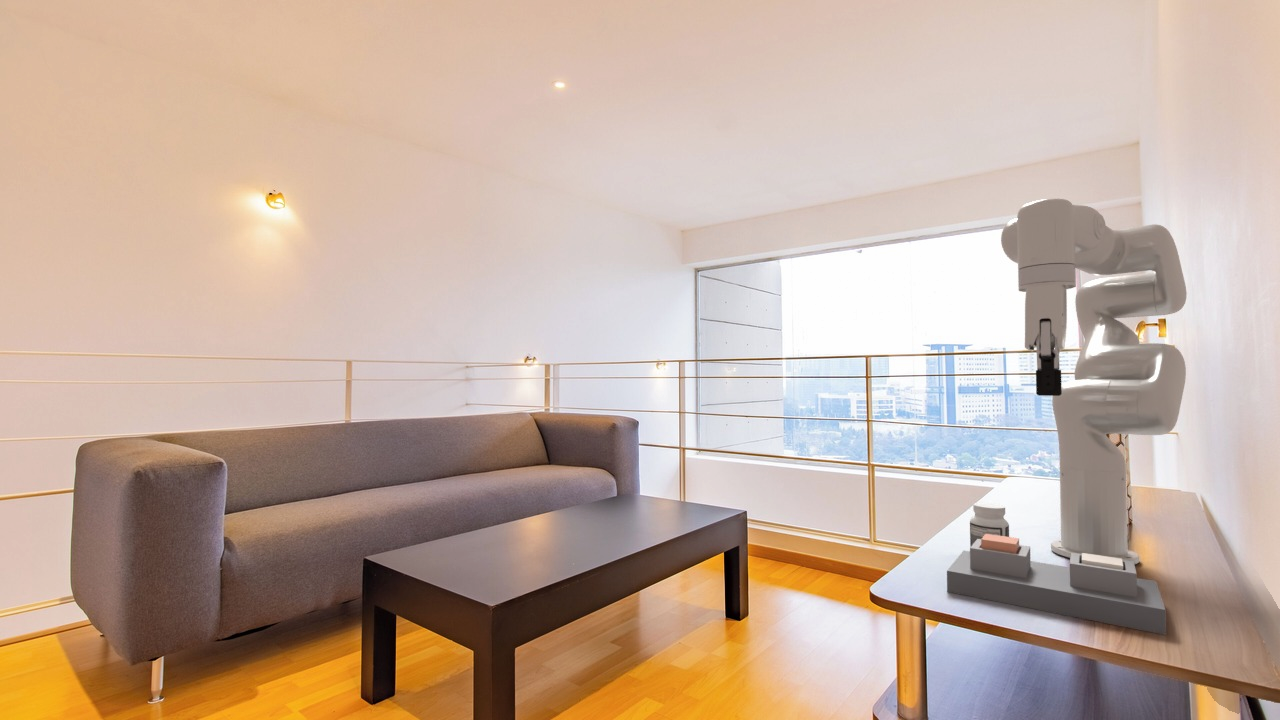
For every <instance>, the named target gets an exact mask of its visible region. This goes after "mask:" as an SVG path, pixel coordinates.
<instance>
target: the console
mask: <svg viewBox="0 0 1280 720" xmlns="http://www.w3.org/2000/svg"><path fill="white" fill-rule="evenodd" d="M1122 562H1123V570H1120V569H1114V568H1107V567H1101V566H1094V565H1088V564H1082V554H1079V553H1072V552H1071V557H1070V558H1069V566H1064V565H1060V564H1059V565H1057V564H1050V563H1045V562H1038V561H1031V546H1029V545H1023V544H1019V554H1016V553H1010V552H1003V551H997V550H990V549H984V548H981V539H977V540H976V541H975V542H974V544H973V545H972V546H971V547H969V550H962V552H961V553H960V554H959V555H958V556H957V558H956V559H955V560H954V561H953V563H952V564H951V565H950V567H948V569H947V570H946V592H947V593H948V592H949V593H954V594H959V595H963V596H967V597H972V598H973V597H974V598H978V599H981V600H982V599H983V600H989V601H992V602H993V601H994V602H999V603H1004V604H1008V605H1014V606H1019V607H1023V608H1028V609H1034V610H1037V611H1039V610H1040V611H1042V612H1043V611H1044V612H1048V613H1054V614H1058V615H1063V616H1068V617H1074V618H1078V619H1083V620H1090V621H1094V622H1099V623H1103V624H1104V623H1105V624H1109V625H1115V626H1120V627H1124V628H1129V629H1134V630H1139V631H1144V632H1149V633H1154V634H1160V635H1164V636H1166V635H1167V615H1166V612H1167V611H1166V607H1165V603H1164V601H1163V598H1162V594H1161V592H1160V590H1159V587H1158V582H1157V580H1153V579H1146V578H1141V577H1140V578H1139V577H1137V576H1138V575H1137V570H1136V566H1135V565H1136V564H1134V562H1133V561H1127V560H1122Z"/></svg>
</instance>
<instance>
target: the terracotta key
mask: <svg viewBox="0 0 1280 720" xmlns="http://www.w3.org/2000/svg"><path fill="white" fill-rule="evenodd" d="M1019 545H1020V538H1019V537H1013V536H1009V537H1006V536H999V535H992V534H985V535H984V536H983V538H982V539H981V548H984V549H990V550H997V551H1003V552H1010V553H1016V554H1019Z"/></svg>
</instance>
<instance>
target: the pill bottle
mask: <svg viewBox="0 0 1280 720" xmlns="http://www.w3.org/2000/svg"><path fill="white" fill-rule="evenodd" d="M972 511H973V512H974V515H973V516H972V517H971V518H970V519H969V540H970V543H969V544H970V547H971V546H972V545H973V544H974V542H975V541H976V540H977V539H982V538H983V536H984V535H985V534H992V535H999V536H1006V537H1010V525H1009V524H1010V523H1009V521H1008V520H1006V519H1005V517H1004V516H1005V515H1006V507H1005V506H1004V505H1001V504H998V503H990V502H975V503H973V510H972ZM970 547H969V548H970Z"/></svg>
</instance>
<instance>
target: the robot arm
mask: <svg viewBox="0 0 1280 720" xmlns="http://www.w3.org/2000/svg"><path fill="white" fill-rule="evenodd" d="M1016 216H1017V217H1015V218H1014V219H1011V220H1010V221H1008V222H1007V223H1006V225H1005V226H1004V227H1003V229H1002V230H1001V237H1000V241H1001V242H1000V243H1001V248H1002V249H1003V252H1004V254H1005V255H1006V257H1007V258H1009V259H1010V260H1011V261H1012V262H1013V263H1016V264H1017V269H1018V270H1017V273H1018V275H1017V279H1018V280H1017V281H1018V284H1017V285H1018V291H1019V292H1023V293H1025V300H1024V301H1025V302H1024V348H1025V349H1026V350H1027V351H1029V352H1034V351H1035V349H1036V351H1035V353H1036V370H1035V389H1036V390H1035V391H1036V395H1037V396H1043V397H1044V396H1045V397H1046V396H1047V397H1050V396H1051V398H1052V400H1051V401H1052V402H1051V403H1052V411H1053V415H1054V420H1055V424H1056V425H1055V427H1056V431H1057V436H1058V437H1057V438H1058V451H1059V452H1058V453H1059V499H1060V500H1059V502H1060V504H1059V505H1060V507H1059V508H1060V510H1059V511H1060V540H1056V541H1052V542H1051V543H1050V549H1051V551H1052V552H1053V553H1055V554H1057V555H1060V556H1062V557H1065V558H1069V559H1070V557H1071V552H1072V553H1079V554H1082V553H1087V554H1094V555H1101V556H1107V557H1114V558H1121V559H1122V560H1127V561H1133V562H1134V565H1137V564H1138V563H1140V555H1139V554H1138V553H1137V552H1135V551H1133V550H1130V549H1128V548H1129V547H1128V546H1129V545H1128V518H1127V517H1128V513H1127V512H1128V510H1127V509H1128V508H1127V507H1128V506H1127V467H1126V459H1125V456H1124V454H1123V452H1122V451H1121V450H1120V449H1119V447H1118V446H1117V445H1116V444H1115V443H1114V442H1113V440H1111V439H1110V438H1109V437H1108V436H1107V435H1110V434H1114V435H1115V434H1117V435H1118V434H1119V435H1132V436H1133V435H1137V436H1162V435H1166V434H1169V433H1170V432H1171V431H1173V430H1174V428H1175V427H1176V425H1177V422H1178V419H1179V415H1180V411H1181V404H1182V399H1183V395H1184V394H1183V393H1184V389H1185V383H1186V376H1187V374H1186V373H1187V371H1186V370H1187V368H1186V362H1185V357H1184V356H1183V354H1182V352H1181V351H1180V350H1179V349H1178V348H1177V347H1175V346H1173V345H1171V344H1166V343H1154V342H1151V343H1140V339H1139V336H1138V335H1137V334H1136V332H1134V331H1133V330H1132V329H1131V328H1130V327H1129V326H1127V325H1126V324H1124V322H1122V321H1119V320H1117V319H1126V318H1136V317H1137V318H1140V317H1141V318H1143V317H1154V316H1155V317H1156V316H1157V317H1158V316H1165V315H1166V316H1168V315H1172V314H1176V313H1177V312H1179V311H1181V310H1182V309H1183V307H1184V306H1185V304H1186V301H1187V294H1188V293H1187V286H1186V282H1185V281H1186V280H1185V277H1184V273H1183V269H1182V266H1181V265H1182V264H1181V260H1180V255H1179V252H1178V248H1177V246H1176V243H1175V239H1174V238H1173V236H1172V234H1171V232H1170V231H1169V230H1168V229H1167V228H1166V227H1165V226H1163V225H1161V224H1157V223H1155V224H1147V225H1140V226H1134V227H1133V226H1132V227H1128V228H1122V229H1114V230H1113V229H1112V228H1110V227H1109V226H1107V225H1106V220H1105V219H1104V216H1103V214H1101V213H1100V212H1099V211H1098V210H1096V209H1095V208H1093V207H1091V206H1088V205H1079V204H1073V203H1072V202H1070V201H1069V200H1067V199H1064V198H1046V199H1040V200H1035V201H1032V202H1029V203H1026V204H1024V205H1023V206H1021V208H1019V209H1018V212H1017V215H1016ZM1076 269H1077V270H1079V271H1082V272H1084V273H1087V274H1090V275H1094V276H1109V277H1103V278H1097V279H1094V280H1091V281H1088V282H1086V283H1084V284H1083V285H1081V286H1080V287H1079V288H1078V290H1077V292H1076V294H1075V302H1074V303H1075V312H1076V316H1077V321H1078V325H1079V329H1080V331H1081V333H1082V335H1083V338H1084V343H1083V345H1082V348H1081V351H1080V353H1079V356H1078V358H1077V361H1076V364H1075V368H1074V380H1069V381H1066V382H1063V383H1062V370H1061V369H1060V352H1061V351H1063V350H1064V349H1065V346H1066V338H1067V337H1066V336H1067V323H1068V321H1067V320H1068V313H1067V311H1068V310H1067V306H1068V305H1067V303H1068V302H1067V300H1068V297H1067V294H1068V293H1067V290H1070V289H1074V288H1076V287H1077V280H1076V279H1077V278H1076V277H1077V276H1076V273H1077V271H1076ZM1147 271H1152V272H1147ZM1138 272H1147V273H1138ZM1128 273H1135V274H1128ZM1120 274H1128V275H1120ZM1111 275H1118V276H1111Z"/></svg>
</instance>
